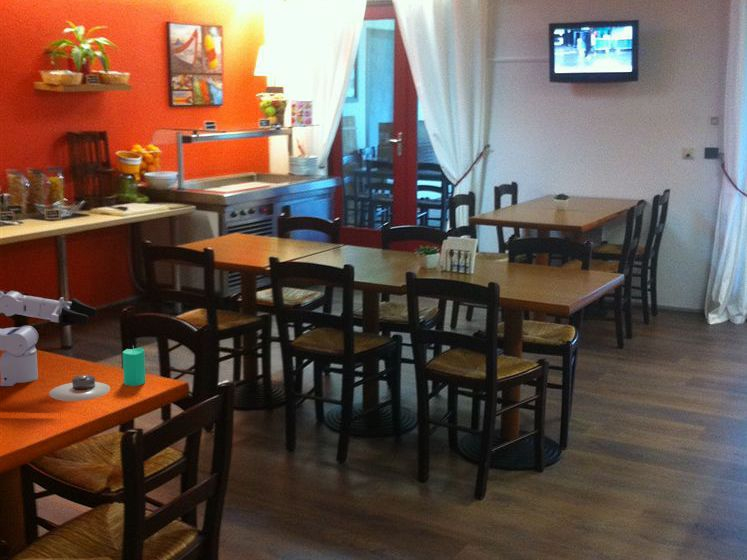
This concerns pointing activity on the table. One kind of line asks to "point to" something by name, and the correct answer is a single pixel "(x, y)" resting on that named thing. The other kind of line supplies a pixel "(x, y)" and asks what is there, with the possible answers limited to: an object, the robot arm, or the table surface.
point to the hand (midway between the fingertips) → (92, 316)
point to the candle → (134, 366)
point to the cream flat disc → (78, 392)
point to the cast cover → (83, 382)
